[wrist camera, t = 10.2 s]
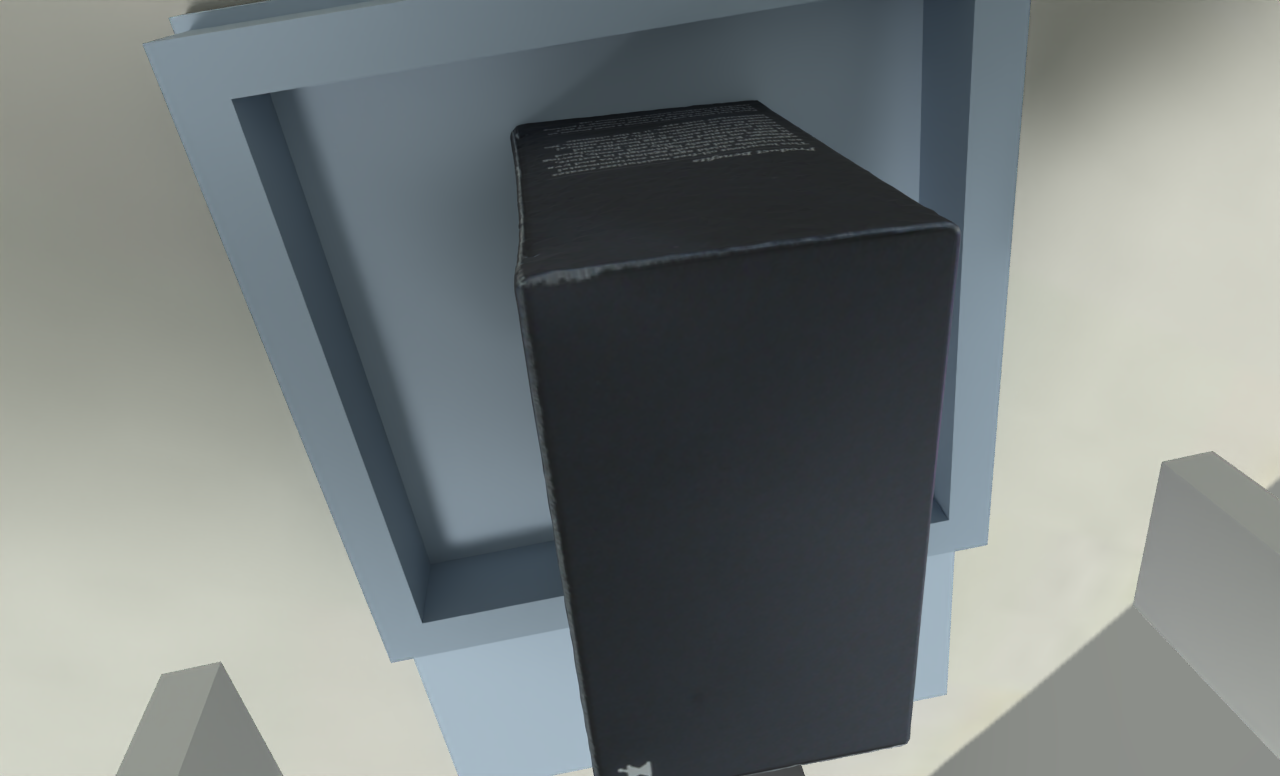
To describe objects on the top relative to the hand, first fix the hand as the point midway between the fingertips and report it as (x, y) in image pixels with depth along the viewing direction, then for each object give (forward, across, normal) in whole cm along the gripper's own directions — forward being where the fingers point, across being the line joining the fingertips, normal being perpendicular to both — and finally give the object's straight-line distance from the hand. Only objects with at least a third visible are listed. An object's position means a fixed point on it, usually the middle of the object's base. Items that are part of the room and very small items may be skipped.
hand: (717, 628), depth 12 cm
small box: (+12, +1, 0) cm, 12 cm away
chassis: (+13, +1, -5) cm, 14 cm away
